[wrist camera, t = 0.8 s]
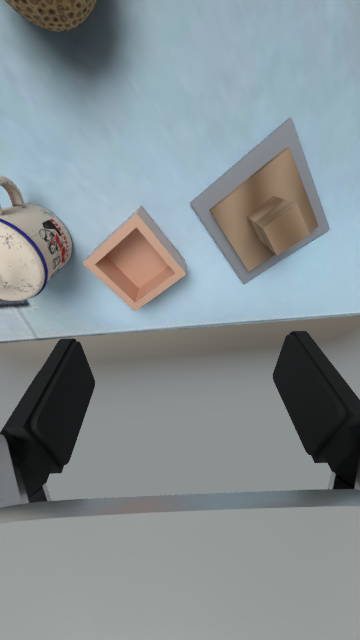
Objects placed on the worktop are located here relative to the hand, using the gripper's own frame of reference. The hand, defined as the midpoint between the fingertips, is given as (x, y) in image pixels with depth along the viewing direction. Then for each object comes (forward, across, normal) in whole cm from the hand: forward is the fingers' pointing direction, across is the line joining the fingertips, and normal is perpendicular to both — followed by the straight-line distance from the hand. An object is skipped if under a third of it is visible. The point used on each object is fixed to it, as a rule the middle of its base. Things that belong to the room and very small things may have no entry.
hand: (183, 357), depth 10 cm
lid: (+23, -11, -1) cm, 26 cm away
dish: (+24, +5, +3) cm, 25 cm away
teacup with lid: (+24, +18, -1) cm, 30 cm away
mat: (+24, -11, -1) cm, 26 cm away
